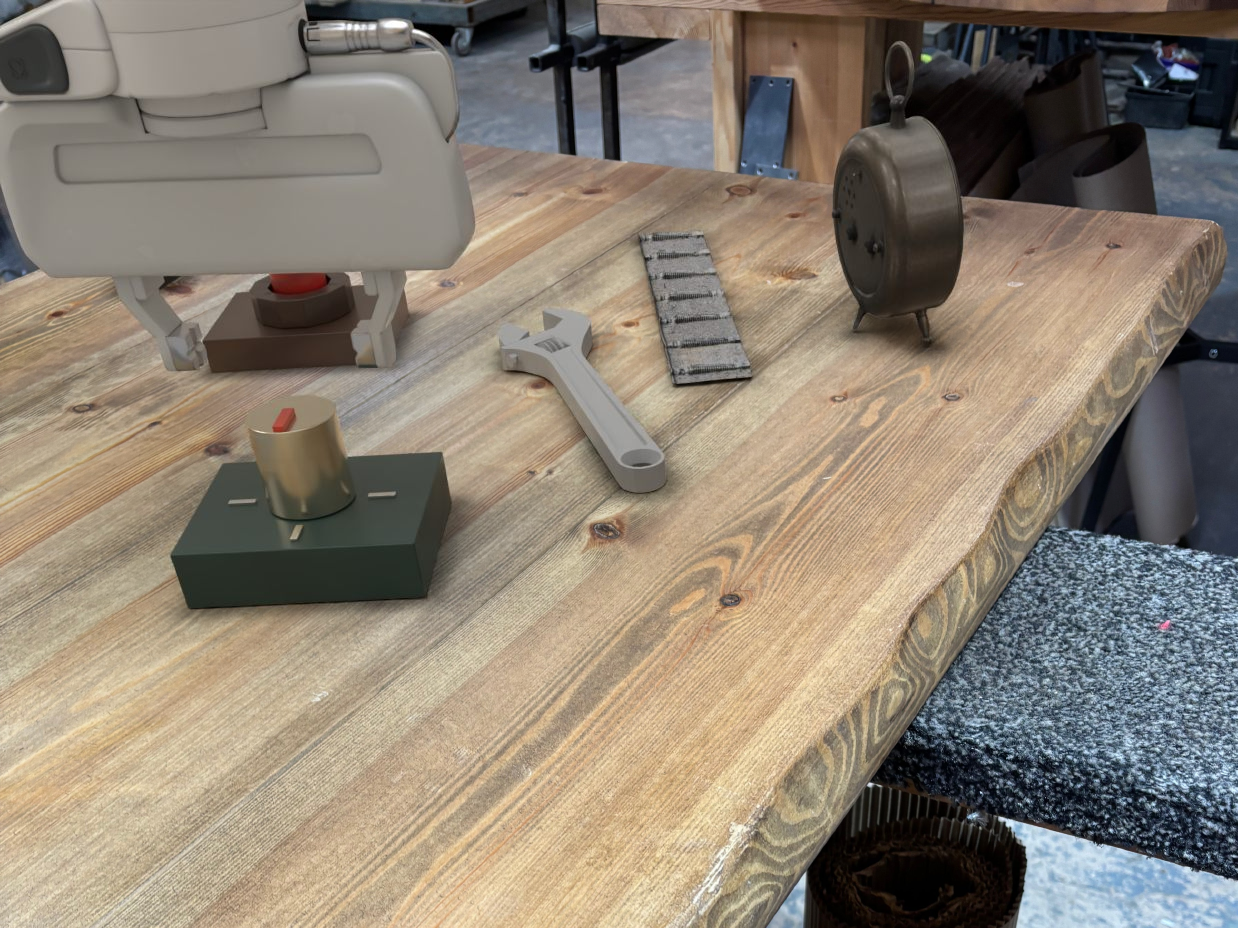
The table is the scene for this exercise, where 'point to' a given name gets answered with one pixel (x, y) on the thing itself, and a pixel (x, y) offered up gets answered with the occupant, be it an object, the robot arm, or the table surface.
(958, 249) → the alarm clock
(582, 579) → the table surface
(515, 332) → the adjustable wrench
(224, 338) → the button box
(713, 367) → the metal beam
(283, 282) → the button
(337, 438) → the knob
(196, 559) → the panel
